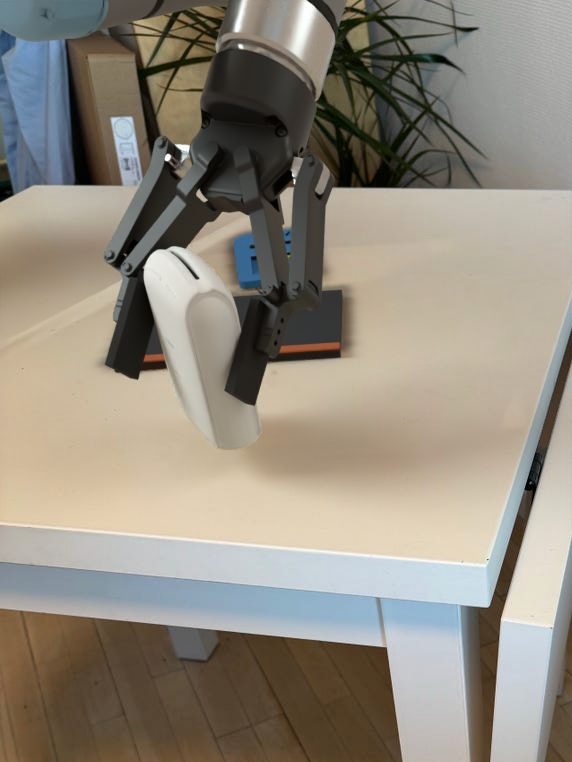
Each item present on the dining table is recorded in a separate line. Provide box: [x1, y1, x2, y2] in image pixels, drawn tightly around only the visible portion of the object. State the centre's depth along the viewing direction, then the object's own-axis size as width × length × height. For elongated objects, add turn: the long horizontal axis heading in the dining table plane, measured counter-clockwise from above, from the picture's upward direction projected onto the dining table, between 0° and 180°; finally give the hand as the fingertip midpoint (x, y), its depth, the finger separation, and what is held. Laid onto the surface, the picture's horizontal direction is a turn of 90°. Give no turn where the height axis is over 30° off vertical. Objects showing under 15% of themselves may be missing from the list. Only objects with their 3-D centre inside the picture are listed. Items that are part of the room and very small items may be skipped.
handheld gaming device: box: [233, 228, 291, 290], centre depth 99 cm, size 8×1×15 cm
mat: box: [113, 289, 344, 373], centre depth 86 cm, size 20×14×1 cm
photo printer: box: [143, 246, 263, 451], centre depth 65 cm, size 10×4×12 cm, turn 32°
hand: (179, 385), depth 64 cm, fingers closed on photo printer, 10 cm apart
